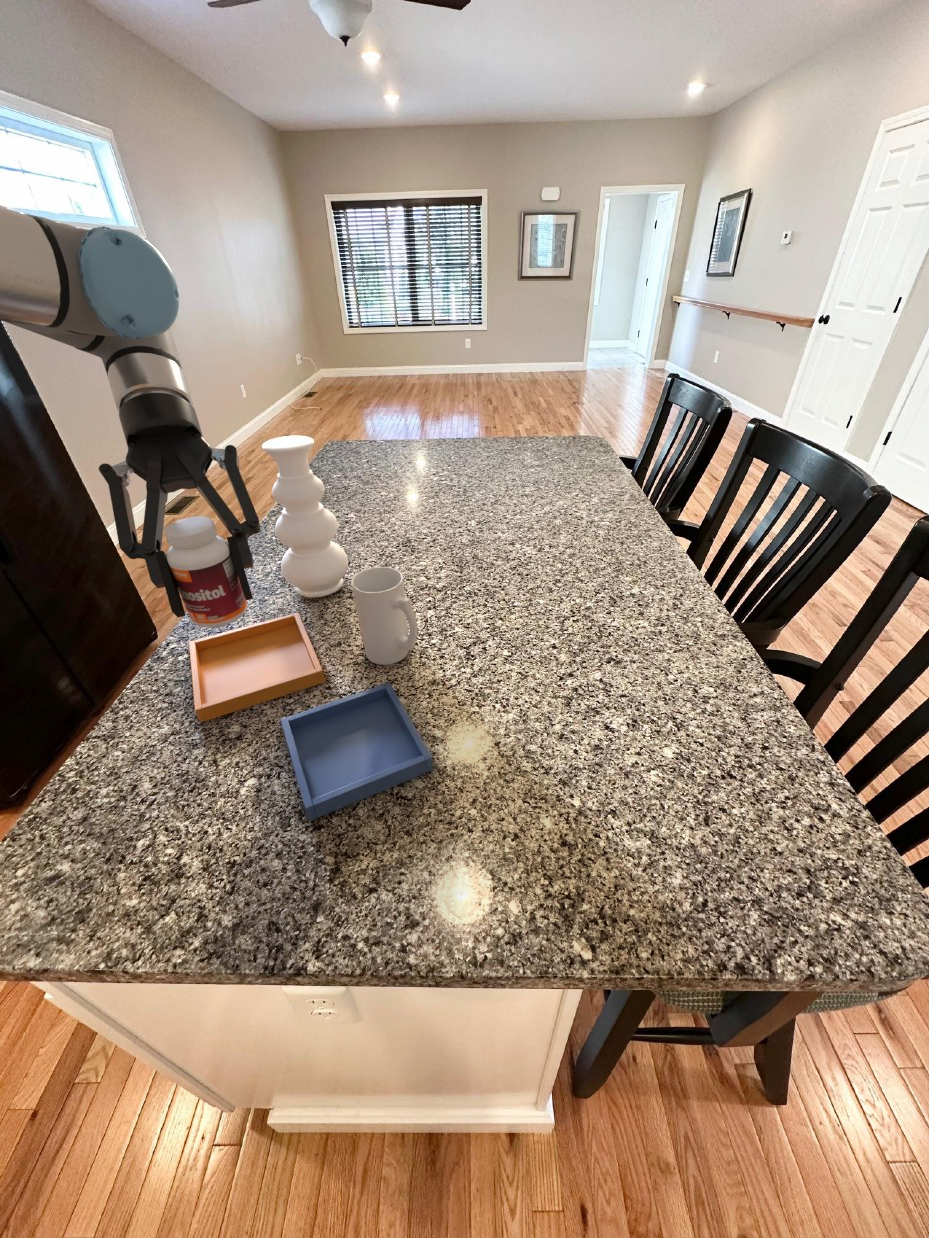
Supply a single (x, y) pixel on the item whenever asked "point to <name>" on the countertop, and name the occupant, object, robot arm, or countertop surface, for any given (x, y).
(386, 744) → the blue tray
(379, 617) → the mug
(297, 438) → the vase
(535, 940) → the countertop surface
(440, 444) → the countertop surface
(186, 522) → the pill bottle
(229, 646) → the amber tray
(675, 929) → the countertop surface
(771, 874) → the countertop surface
